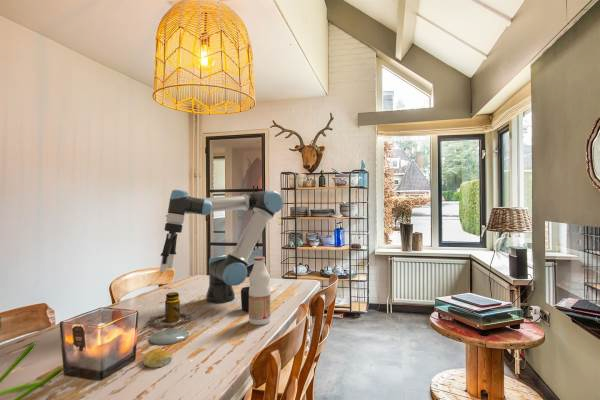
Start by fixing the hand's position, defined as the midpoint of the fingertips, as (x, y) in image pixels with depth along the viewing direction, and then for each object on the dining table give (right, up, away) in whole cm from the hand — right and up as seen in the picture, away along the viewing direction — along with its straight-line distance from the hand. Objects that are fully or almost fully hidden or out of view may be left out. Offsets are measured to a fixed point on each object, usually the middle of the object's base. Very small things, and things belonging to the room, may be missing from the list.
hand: (166, 269), depth 157 cm
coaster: (+10, -21, -24) cm, 34 cm away
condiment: (+4, -22, -5) cm, 23 cm away
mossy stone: (+15, -21, -45) cm, 52 cm away
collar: (+4, -22, -5) cm, 22 cm away
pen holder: (+37, -22, +11) cm, 44 cm away
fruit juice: (+43, -22, -7) cm, 49 cm away
